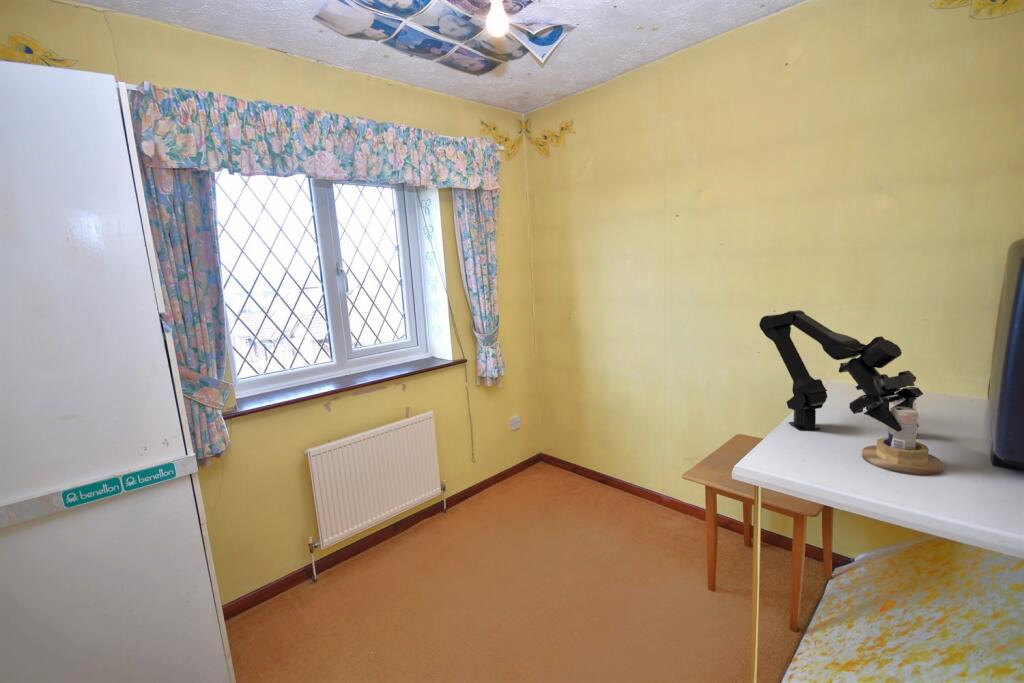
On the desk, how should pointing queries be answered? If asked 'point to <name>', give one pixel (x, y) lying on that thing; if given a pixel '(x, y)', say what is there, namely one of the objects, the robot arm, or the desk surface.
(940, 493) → the desk surface
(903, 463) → the can stand
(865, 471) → the desk surface
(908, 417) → the energy drink
